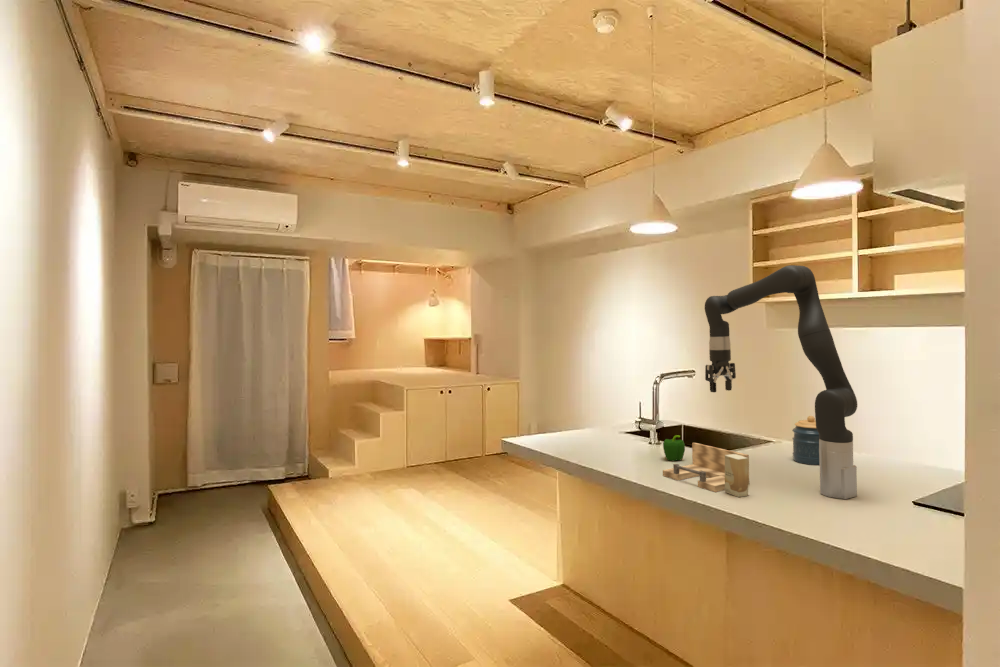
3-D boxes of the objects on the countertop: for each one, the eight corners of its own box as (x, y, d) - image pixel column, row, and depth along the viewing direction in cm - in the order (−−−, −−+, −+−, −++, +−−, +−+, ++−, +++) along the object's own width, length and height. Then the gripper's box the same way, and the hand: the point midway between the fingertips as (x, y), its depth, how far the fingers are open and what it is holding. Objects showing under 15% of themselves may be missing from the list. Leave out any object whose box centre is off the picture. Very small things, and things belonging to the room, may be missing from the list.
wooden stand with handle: (749, 484, 196) (748, 454, 196) (715, 492, 189) (714, 461, 188) (695, 469, 217) (694, 442, 217) (662, 475, 210) (662, 448, 210)
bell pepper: (658, 460, 233) (658, 435, 233) (670, 456, 238) (669, 432, 238) (677, 463, 227) (677, 438, 226) (688, 459, 232) (688, 434, 232)
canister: (797, 464, 219) (796, 418, 219) (789, 456, 232) (788, 412, 231) (835, 466, 216) (835, 418, 216) (825, 457, 229) (824, 413, 228)
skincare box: (724, 492, 188) (723, 454, 188) (734, 490, 190) (734, 453, 190) (738, 497, 182) (738, 459, 182) (749, 495, 184) (748, 457, 184)
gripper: (715, 349, 213) (716, 393, 213) (740, 347, 220) (741, 390, 220) (698, 349, 219) (700, 392, 220) (724, 347, 227) (725, 388, 227)
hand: (721, 391), depth 220 cm, fingers open, 8 cm apart
